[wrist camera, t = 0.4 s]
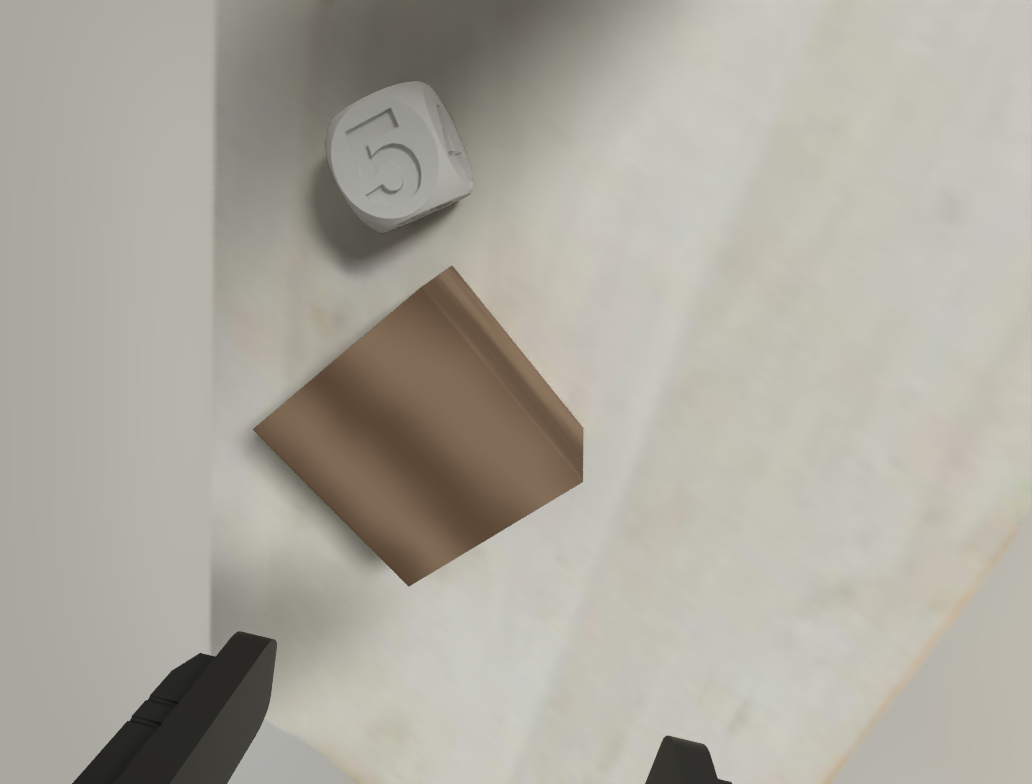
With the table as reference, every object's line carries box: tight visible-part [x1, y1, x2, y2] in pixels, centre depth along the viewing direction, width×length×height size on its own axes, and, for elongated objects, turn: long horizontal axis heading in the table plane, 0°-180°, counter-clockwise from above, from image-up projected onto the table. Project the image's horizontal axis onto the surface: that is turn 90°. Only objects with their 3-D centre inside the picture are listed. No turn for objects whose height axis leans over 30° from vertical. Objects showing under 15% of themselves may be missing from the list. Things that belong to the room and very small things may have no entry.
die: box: [325, 81, 474, 233], centre depth 25 cm, size 5×5×5 cm
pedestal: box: [253, 266, 583, 586], centre depth 30 cm, size 12×12×6 cm
